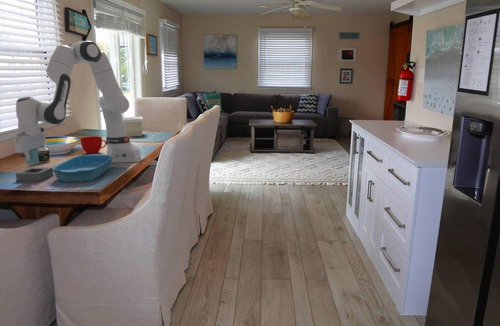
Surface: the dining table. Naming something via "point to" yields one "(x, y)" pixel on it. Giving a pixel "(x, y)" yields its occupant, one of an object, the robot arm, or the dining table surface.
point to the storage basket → (133, 126)
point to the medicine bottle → (43, 154)
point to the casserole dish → (82, 167)
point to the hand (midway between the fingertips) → (32, 158)
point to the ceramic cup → (92, 144)
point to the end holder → (34, 174)
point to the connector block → (33, 157)
